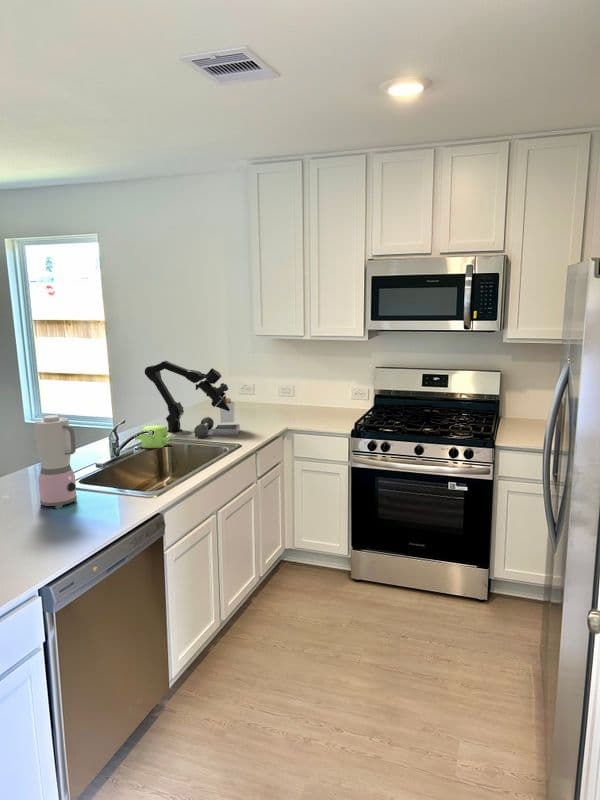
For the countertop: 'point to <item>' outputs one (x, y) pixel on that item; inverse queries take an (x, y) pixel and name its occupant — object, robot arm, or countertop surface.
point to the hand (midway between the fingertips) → (229, 409)
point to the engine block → (228, 415)
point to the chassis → (215, 429)
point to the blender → (55, 461)
